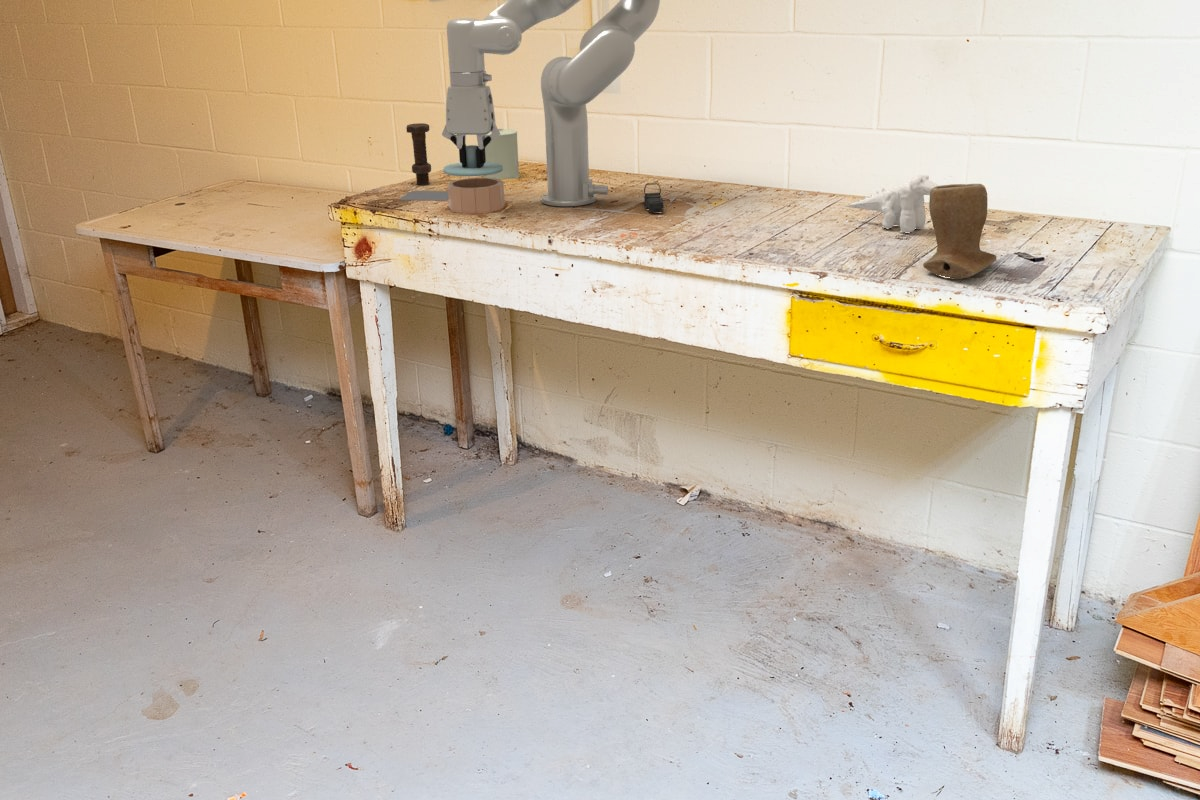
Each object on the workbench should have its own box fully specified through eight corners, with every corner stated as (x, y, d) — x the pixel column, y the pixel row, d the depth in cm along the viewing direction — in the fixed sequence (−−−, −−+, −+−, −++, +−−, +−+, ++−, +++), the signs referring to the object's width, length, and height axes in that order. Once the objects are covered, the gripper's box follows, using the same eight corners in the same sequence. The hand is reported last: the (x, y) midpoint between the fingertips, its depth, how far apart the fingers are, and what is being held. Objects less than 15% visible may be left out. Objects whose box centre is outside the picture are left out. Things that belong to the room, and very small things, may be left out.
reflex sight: (646, 215, 226) (646, 192, 224) (643, 205, 236) (642, 183, 234) (664, 215, 226) (664, 192, 224) (660, 204, 236) (660, 182, 234)
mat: (459, 193, 251) (459, 191, 250) (447, 203, 242) (446, 200, 241) (412, 193, 253) (412, 190, 253) (397, 202, 244) (397, 199, 244)
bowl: (509, 204, 239) (508, 177, 237) (495, 216, 228) (494, 189, 226) (459, 203, 241) (457, 177, 239) (443, 215, 230) (441, 188, 228)
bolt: (431, 188, 257) (425, 126, 251) (411, 189, 257) (405, 126, 252) (435, 183, 263) (429, 122, 257) (415, 184, 263) (409, 123, 257)
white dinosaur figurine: (943, 237, 199) (944, 179, 196) (835, 230, 216) (834, 176, 212) (961, 230, 204) (962, 173, 200) (853, 224, 220) (853, 171, 217)
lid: (509, 165, 236) (508, 141, 234) (493, 177, 224) (492, 152, 222) (453, 164, 238) (452, 141, 236) (435, 175, 226) (433, 151, 224)
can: (520, 173, 272) (517, 126, 268) (519, 180, 264) (517, 132, 259) (484, 174, 272) (481, 127, 267) (483, 181, 263) (479, 133, 259)
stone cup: (937, 255, 192) (946, 173, 186) (1003, 265, 185) (1014, 180, 179) (903, 275, 181) (911, 188, 175) (971, 286, 174) (982, 196, 168)
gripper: (509, 78, 226) (513, 164, 233) (437, 78, 228) (443, 162, 236) (499, 82, 219) (504, 170, 226) (425, 81, 222) (432, 169, 229)
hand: (473, 165), depth 231 cm, fingers closed on lid, 2 cm apart
